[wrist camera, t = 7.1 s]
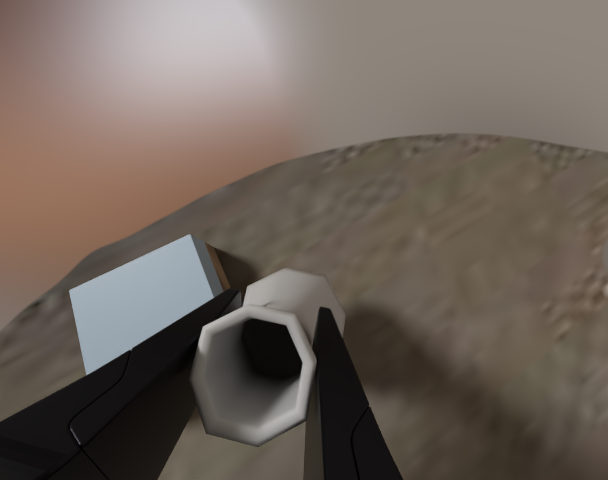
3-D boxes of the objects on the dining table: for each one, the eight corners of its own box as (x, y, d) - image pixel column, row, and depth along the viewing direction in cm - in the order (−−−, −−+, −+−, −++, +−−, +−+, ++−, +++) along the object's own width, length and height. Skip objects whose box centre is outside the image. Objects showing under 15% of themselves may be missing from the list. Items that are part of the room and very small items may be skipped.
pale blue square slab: (245, 348, 18) (235, 356, 16) (126, 411, 18) (97, 428, 15) (204, 241, 21) (190, 233, 19) (98, 291, 20) (69, 290, 18)
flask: (336, 260, 16) (369, 211, 6) (355, 373, 14) (439, 540, 5) (235, 275, 16) (115, 248, 6) (242, 388, 15) (97, 581, 5)
